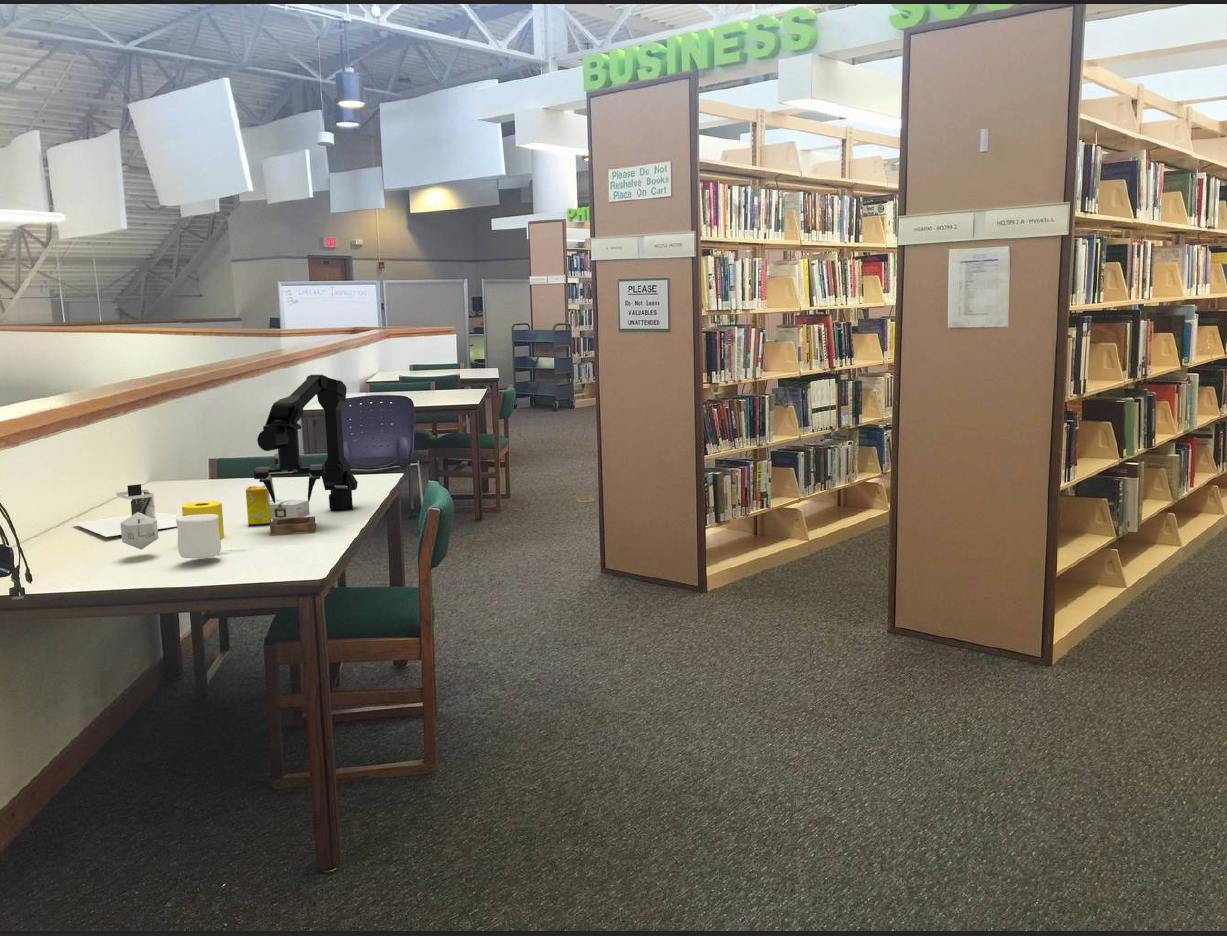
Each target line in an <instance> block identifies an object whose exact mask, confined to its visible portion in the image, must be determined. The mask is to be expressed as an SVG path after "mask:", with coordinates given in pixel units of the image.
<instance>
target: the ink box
mask: <svg viewBox="0 0 1227 936" xmlns="http://www.w3.org/2000/svg"><path fill="white" fill-rule="evenodd" d="M270 512H271V519H279V518H295V517H306V516H308V515H310V514H311V513H310V501H308V499H275V503H274V502H273V500H272V499H271V500H270ZM307 514H308V515H307Z"/></svg>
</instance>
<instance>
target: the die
mask: <svg viewBox="0 0 1227 936" xmlns="http://www.w3.org/2000/svg"><path fill="white" fill-rule="evenodd" d="M131 515H132V514H131ZM120 524H121V534H122V535H121V542H122V543H124V544H125V545H129V546H130V547H133V548H136V549H138V550H144V548H146V547H148V546H149V545H151V544H152V543H154V542H155V541H157V540H158V539H160V538H159V529H158V528H157V520H156V519H154V518H151V517H149V516H146V515H144V514H142V513H139V512H137V513H135V514H134V515H132V516H131V517H129V518H128V519H126V520H125V521H123V522H122V523H120Z"/></svg>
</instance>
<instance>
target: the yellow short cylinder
mask: <svg viewBox="0 0 1227 936" xmlns="http://www.w3.org/2000/svg"><path fill="white" fill-rule="evenodd" d="M181 510H182V511H181V512H182V516H189V515H199V514H216V515H218V516H219V517H218V526H219V534H220V540H221V539H224V538H225V531H224V518H223V504H222V502H221V501H217V500H215V501H213V500H210V501H208V500H205V501H195V502H194V501H193V502H189V503H188V502H187V503H185V504H182V505H181Z"/></svg>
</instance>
